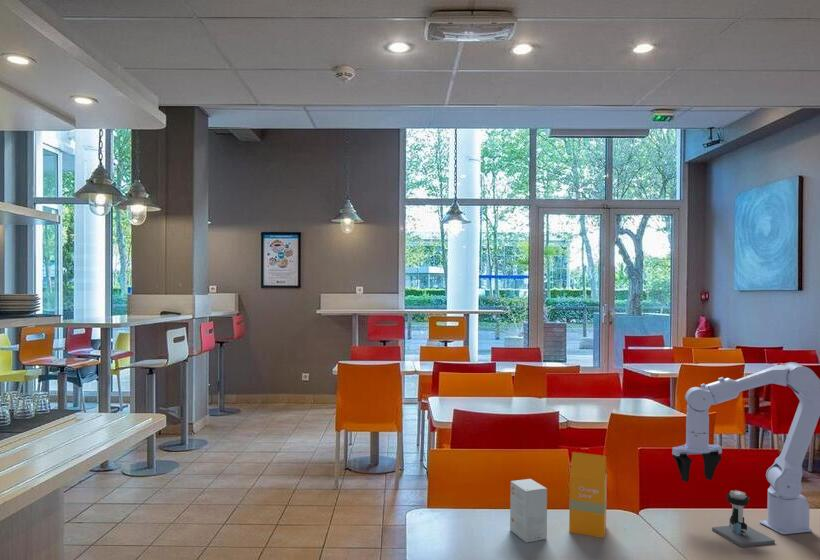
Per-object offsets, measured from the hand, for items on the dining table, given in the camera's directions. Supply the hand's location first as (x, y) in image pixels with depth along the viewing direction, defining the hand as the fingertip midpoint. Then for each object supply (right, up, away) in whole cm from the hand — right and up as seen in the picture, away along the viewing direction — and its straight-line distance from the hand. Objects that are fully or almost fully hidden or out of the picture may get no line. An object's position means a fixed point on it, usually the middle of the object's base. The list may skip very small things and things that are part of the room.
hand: (696, 479), depth 167 cm
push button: (+5, -10, -12) cm, 16 cm away
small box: (-50, -10, -13) cm, 52 cm away
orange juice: (-33, -10, -9) cm, 36 cm away
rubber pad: (+6, -11, -12) cm, 17 cm away
